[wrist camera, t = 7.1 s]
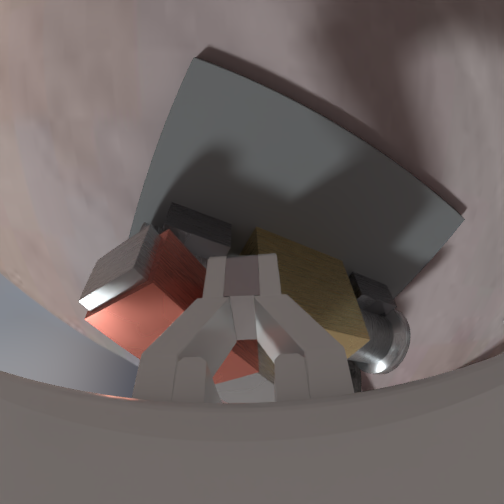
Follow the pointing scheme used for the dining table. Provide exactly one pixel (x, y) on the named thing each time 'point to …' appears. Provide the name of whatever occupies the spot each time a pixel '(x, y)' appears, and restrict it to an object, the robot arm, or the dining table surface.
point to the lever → (166, 308)
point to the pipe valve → (311, 288)
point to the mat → (290, 179)
